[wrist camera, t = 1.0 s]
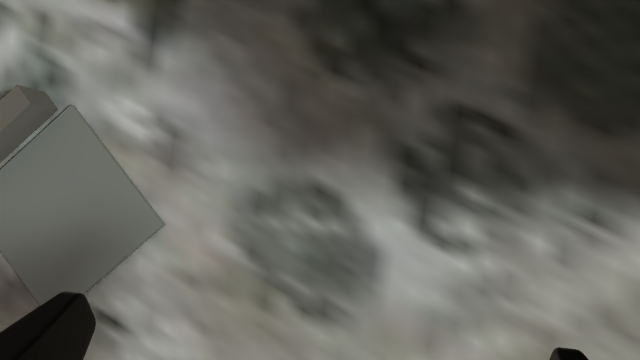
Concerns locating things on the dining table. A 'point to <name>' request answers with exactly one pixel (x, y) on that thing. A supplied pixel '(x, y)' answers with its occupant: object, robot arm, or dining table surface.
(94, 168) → the price rail
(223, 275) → the dining table surface
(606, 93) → the dining table surface
